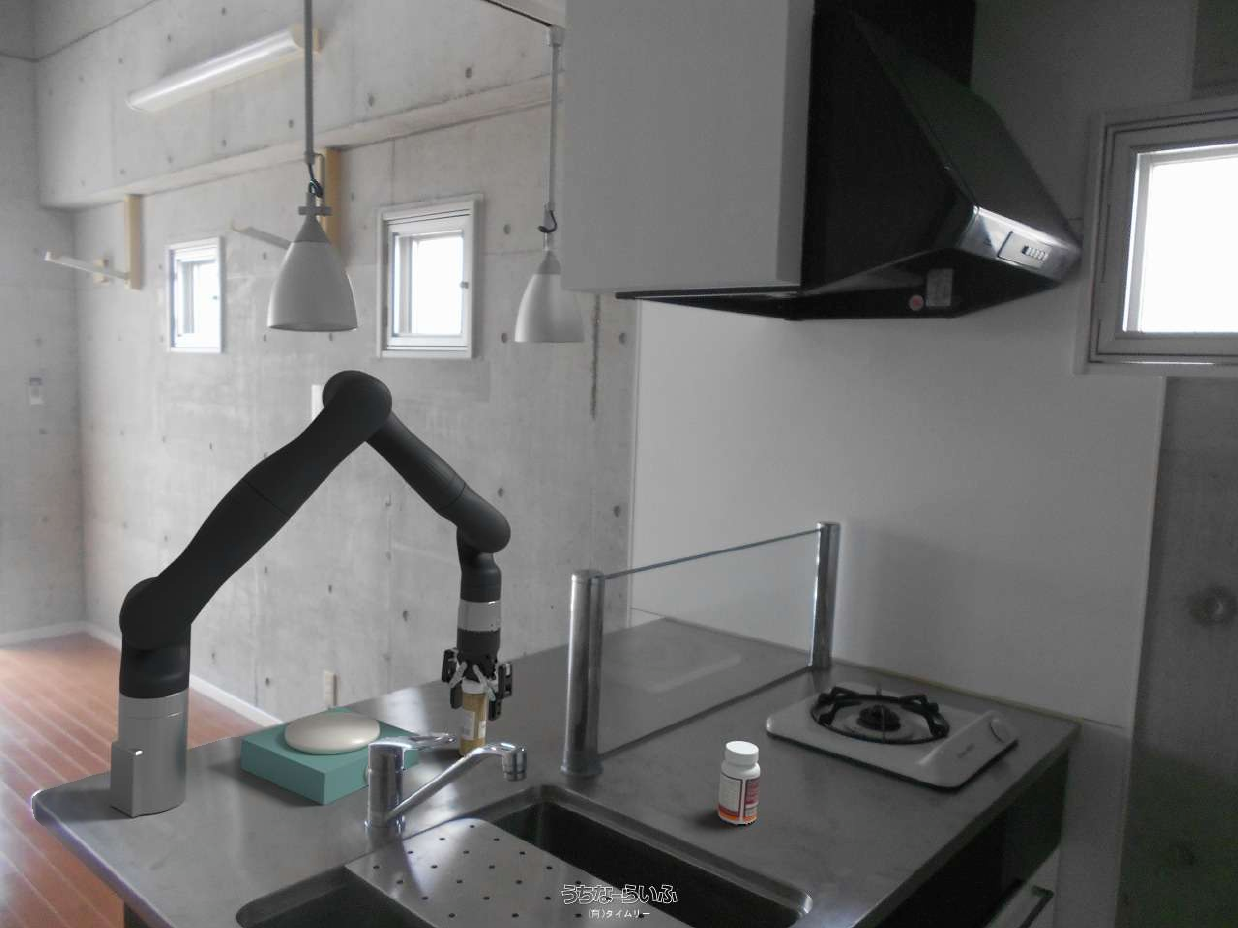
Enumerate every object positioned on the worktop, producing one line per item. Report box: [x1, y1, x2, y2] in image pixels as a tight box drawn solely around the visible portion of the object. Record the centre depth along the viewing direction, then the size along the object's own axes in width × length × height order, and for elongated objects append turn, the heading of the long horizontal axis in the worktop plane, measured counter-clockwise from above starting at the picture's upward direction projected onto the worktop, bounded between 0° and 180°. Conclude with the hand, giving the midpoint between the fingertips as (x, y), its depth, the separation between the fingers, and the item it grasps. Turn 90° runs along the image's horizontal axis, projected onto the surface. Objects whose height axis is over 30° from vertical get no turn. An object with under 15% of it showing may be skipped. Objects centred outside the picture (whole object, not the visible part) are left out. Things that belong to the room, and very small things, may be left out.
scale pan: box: [285, 712, 380, 754], centre depth 150 cm, size 15×15×1 cm
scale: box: [240, 705, 421, 806], centre depth 150 cm, size 20×20×5 cm
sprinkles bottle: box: [458, 678, 490, 757], centre depth 159 cm, size 5×5×13 cm
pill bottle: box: [717, 740, 761, 825], centre depth 142 cm, size 6×6×11 cm
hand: (474, 713), depth 159 cm, fingers open, 8 cm apart
